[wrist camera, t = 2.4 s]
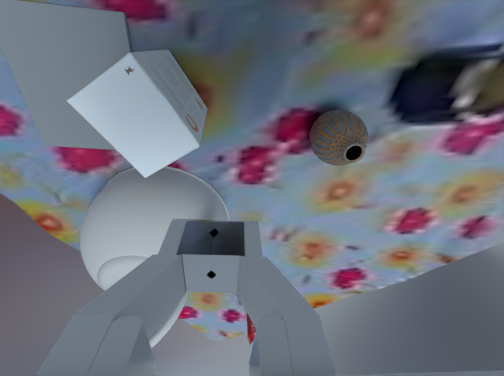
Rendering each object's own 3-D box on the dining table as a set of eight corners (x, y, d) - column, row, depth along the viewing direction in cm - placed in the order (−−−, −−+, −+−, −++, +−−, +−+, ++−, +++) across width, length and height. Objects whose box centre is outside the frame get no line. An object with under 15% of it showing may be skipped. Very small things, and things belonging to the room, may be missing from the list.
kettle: (184, 129, 31) (98, 256, 12) (262, 228, 42) (281, 376, 23) (69, 206, 37) (-109, 370, 18) (163, 275, 48) (114, 423, 29)
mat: (-16, -3, 23) (-22, -5, 22) (125, 13, 24) (123, 12, 23) (47, 143, 31) (44, 145, 31) (149, 150, 32) (148, 151, 32)
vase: (333, 157, 35) (359, 187, 27) (295, 141, 33) (312, 168, 25) (361, 116, 31) (399, 137, 24) (320, 96, 30) (348, 112, 22)
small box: (126, 78, 27) (61, 99, 16) (168, 47, 25) (129, 48, 15) (171, 133, 31) (144, 180, 20) (209, 109, 30) (202, 145, 19)
